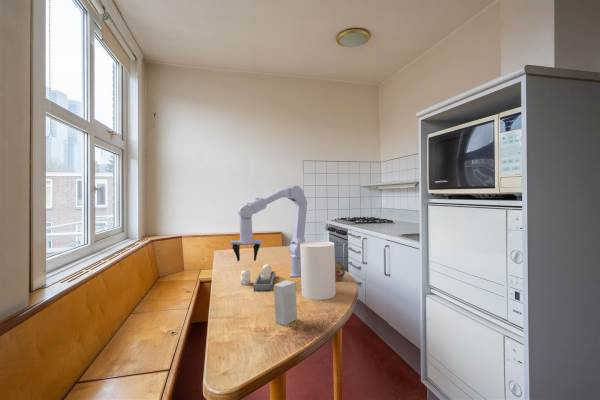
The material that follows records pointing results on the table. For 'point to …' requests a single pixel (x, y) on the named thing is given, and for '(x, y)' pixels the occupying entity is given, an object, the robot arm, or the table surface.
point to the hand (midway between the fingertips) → (246, 260)
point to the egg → (245, 277)
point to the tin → (339, 271)
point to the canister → (318, 270)
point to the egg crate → (265, 279)
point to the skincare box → (285, 302)
